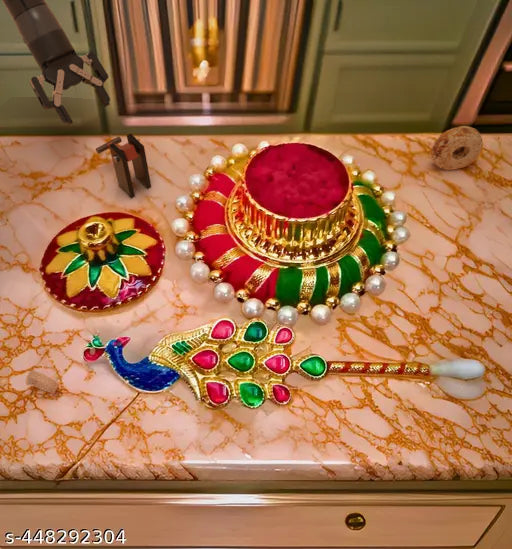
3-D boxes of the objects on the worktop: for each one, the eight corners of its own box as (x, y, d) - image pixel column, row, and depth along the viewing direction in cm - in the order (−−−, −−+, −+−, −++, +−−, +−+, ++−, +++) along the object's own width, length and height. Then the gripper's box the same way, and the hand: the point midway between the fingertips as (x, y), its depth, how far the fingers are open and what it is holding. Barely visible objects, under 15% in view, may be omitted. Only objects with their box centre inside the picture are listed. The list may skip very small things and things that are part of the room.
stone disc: (429, 173, 125) (443, 139, 116) (424, 161, 127) (438, 126, 118) (475, 169, 126) (492, 136, 117) (469, 157, 128) (486, 123, 119)
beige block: (38, 376, 97) (29, 364, 92) (64, 385, 96) (56, 374, 92) (30, 390, 95) (20, 379, 91) (55, 400, 94) (47, 389, 90)
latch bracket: (104, 184, 120) (92, 138, 109) (136, 166, 123) (127, 120, 112) (135, 216, 116) (125, 172, 105) (167, 197, 119) (161, 152, 108)
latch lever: (98, 156, 117) (93, 145, 115) (121, 143, 119) (116, 133, 117) (121, 165, 109) (116, 154, 107) (145, 152, 111) (140, 141, 109)
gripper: (12, 45, 104) (61, 127, 110) (80, 16, 110) (124, 96, 115) (7, 56, 111) (54, 133, 116) (72, 28, 116) (114, 103, 121)
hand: (89, 114), depth 115 cm, fingers open, 8 cm apart
